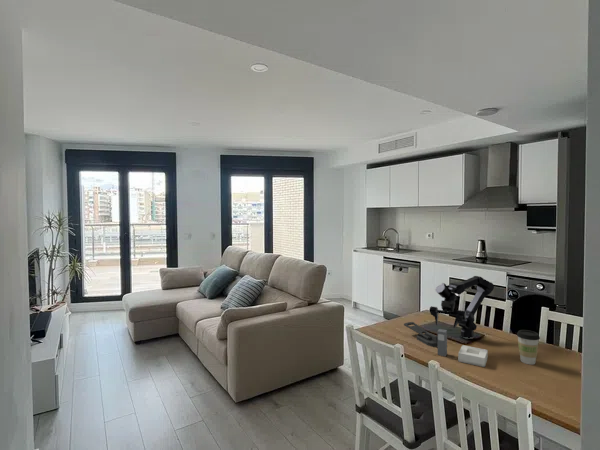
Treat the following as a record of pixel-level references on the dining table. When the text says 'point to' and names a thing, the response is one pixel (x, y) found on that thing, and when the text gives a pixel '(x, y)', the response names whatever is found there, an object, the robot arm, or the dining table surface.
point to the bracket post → (442, 342)
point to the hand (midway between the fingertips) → (445, 326)
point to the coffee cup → (528, 346)
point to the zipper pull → (423, 335)
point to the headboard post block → (473, 355)
